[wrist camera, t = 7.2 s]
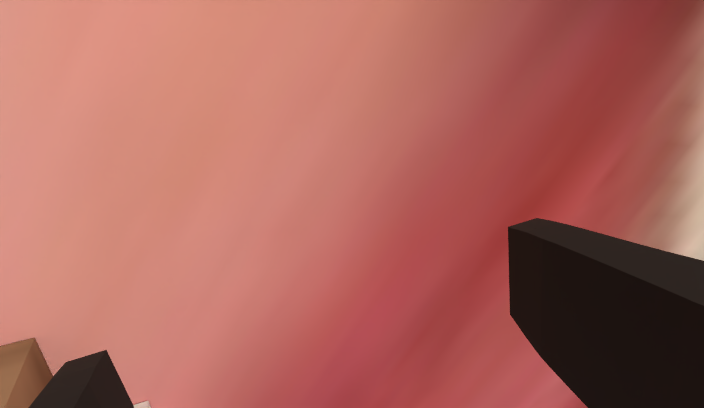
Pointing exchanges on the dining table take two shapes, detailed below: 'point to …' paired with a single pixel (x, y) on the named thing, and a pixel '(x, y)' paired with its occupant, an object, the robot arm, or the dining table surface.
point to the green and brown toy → (22, 373)
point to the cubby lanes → (142, 405)
